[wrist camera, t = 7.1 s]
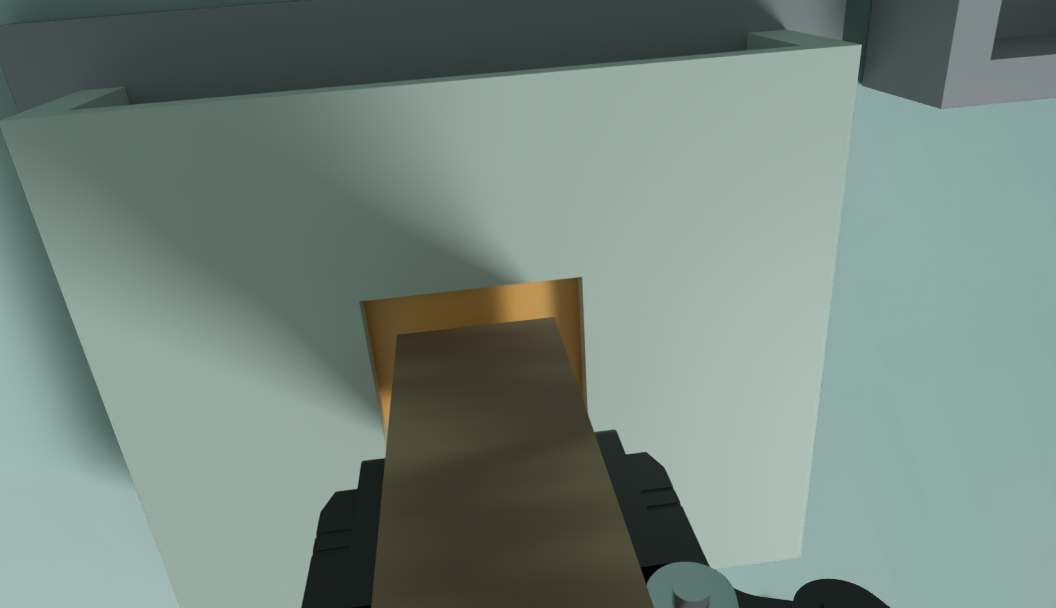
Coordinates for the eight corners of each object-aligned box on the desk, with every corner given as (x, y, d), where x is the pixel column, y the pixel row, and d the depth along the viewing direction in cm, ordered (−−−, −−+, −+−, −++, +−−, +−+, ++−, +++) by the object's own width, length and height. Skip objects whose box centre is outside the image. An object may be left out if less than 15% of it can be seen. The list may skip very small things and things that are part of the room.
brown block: (554, 317, 16) (674, 665, 8) (562, 445, 18) (668, 846, 10) (396, 334, 16) (361, 713, 8) (418, 463, 18) (406, 891, 10)
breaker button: (586, 223, 18) (595, 239, 17) (593, 423, 21) (601, 448, 20) (342, 249, 18) (336, 267, 17) (380, 450, 20) (377, 477, 19)
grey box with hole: (830, -42, 19) (943, -42, 15) (779, 488, 26) (844, 588, 22) (11, 23, 17) (-123, 43, 13) (199, 566, 25) (152, 689, 20)
